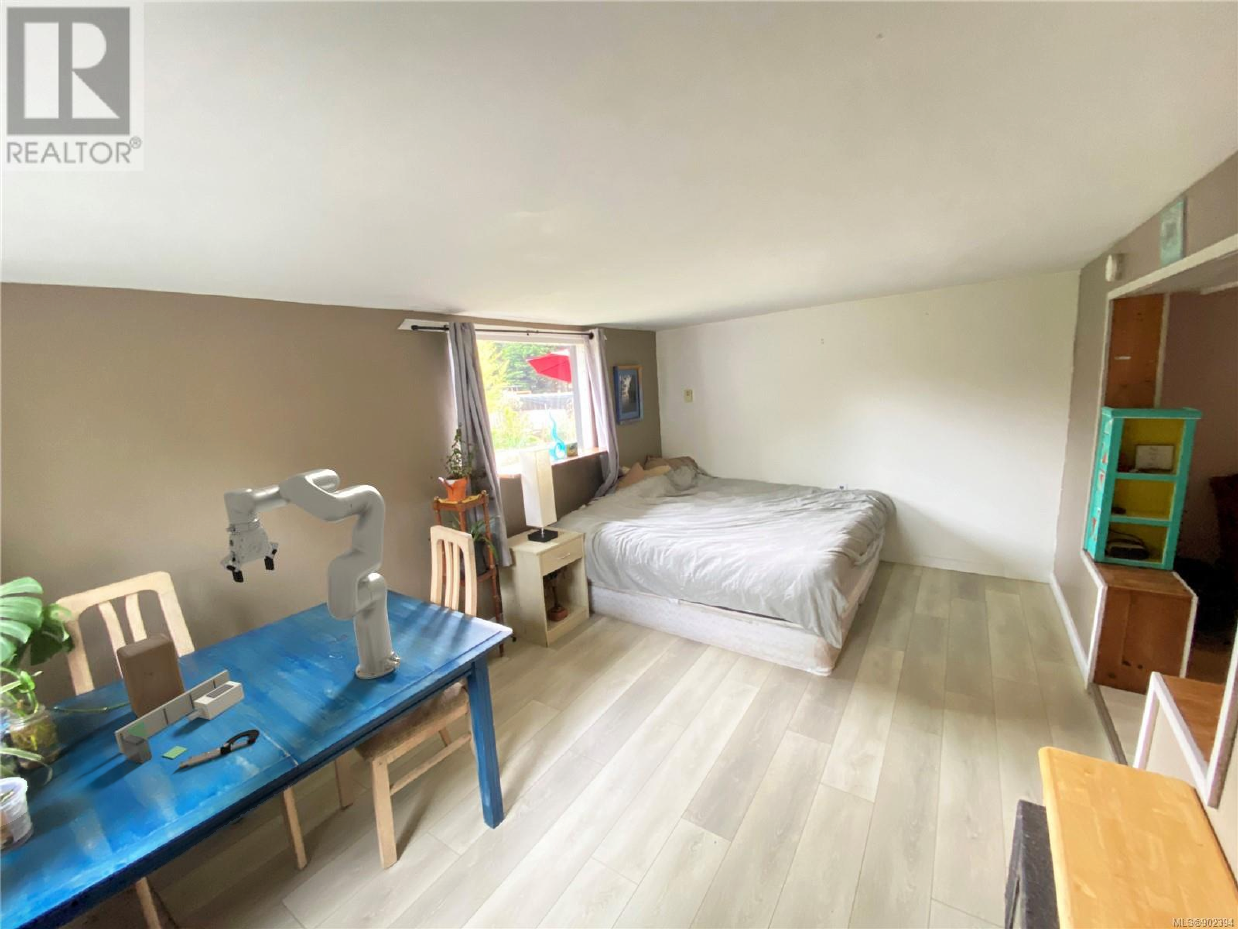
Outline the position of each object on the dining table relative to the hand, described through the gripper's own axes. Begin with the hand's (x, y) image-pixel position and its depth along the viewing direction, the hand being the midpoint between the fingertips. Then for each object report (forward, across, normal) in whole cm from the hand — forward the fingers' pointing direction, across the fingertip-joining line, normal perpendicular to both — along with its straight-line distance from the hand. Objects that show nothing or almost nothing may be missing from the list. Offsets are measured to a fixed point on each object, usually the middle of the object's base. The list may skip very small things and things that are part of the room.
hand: (255, 575), depth 150 cm
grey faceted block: (+30, -41, -12) cm, 52 cm away
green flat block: (+30, -37, -19) cm, 51 cm away
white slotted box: (+30, -24, -12) cm, 40 cm away
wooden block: (+30, -27, +7) cm, 41 cm away
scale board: (+30, -28, -5) cm, 41 cm away
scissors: (+30, -33, -29) cm, 53 cm away
